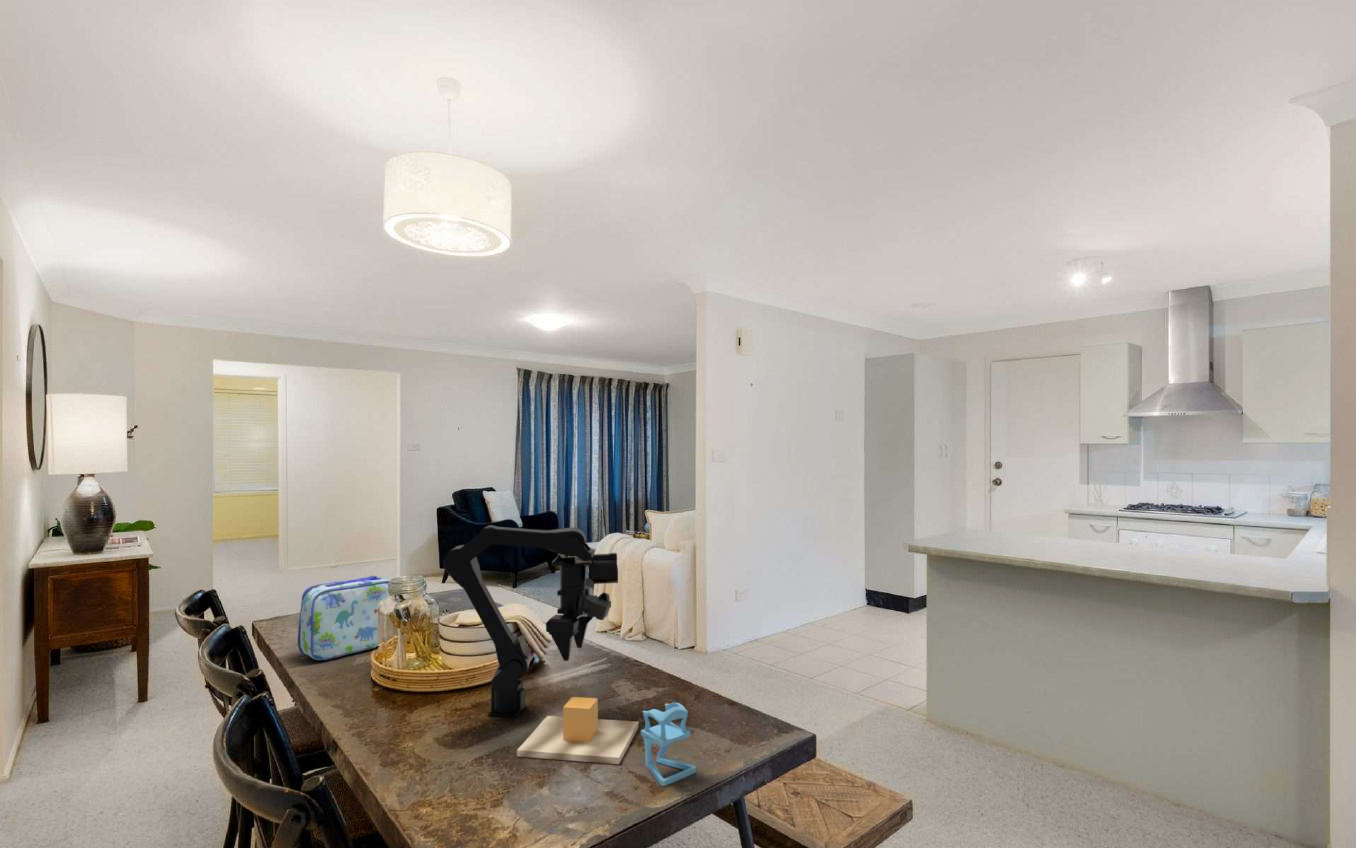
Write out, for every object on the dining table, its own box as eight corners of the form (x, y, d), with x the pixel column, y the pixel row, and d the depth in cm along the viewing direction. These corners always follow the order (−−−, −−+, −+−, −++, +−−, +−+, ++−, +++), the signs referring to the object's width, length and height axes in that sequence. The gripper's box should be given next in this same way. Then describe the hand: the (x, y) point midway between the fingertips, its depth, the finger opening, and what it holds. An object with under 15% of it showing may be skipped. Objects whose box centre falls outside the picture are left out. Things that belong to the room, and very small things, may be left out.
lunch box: (385, 637, 203) (385, 569, 204) (402, 643, 197) (403, 573, 197) (294, 659, 183) (295, 583, 184) (310, 666, 176) (311, 588, 177)
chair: (668, 756, 124) (667, 692, 124) (696, 772, 117) (695, 704, 118) (635, 769, 119) (634, 702, 119) (663, 787, 112) (662, 716, 113)
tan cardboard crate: (563, 740, 128) (563, 707, 128) (572, 728, 133) (572, 696, 134) (589, 742, 127) (589, 709, 127) (597, 730, 132) (597, 698, 133)
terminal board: (517, 756, 124) (517, 728, 124) (547, 721, 140) (547, 697, 140) (619, 764, 121) (618, 735, 121) (638, 727, 136) (638, 702, 137)
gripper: (595, 594, 138) (595, 669, 137) (617, 577, 156) (618, 643, 155) (545, 593, 139) (545, 667, 139) (573, 576, 158) (573, 641, 157)
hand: (573, 654), depth 148 cm, fingers open, 9 cm apart
